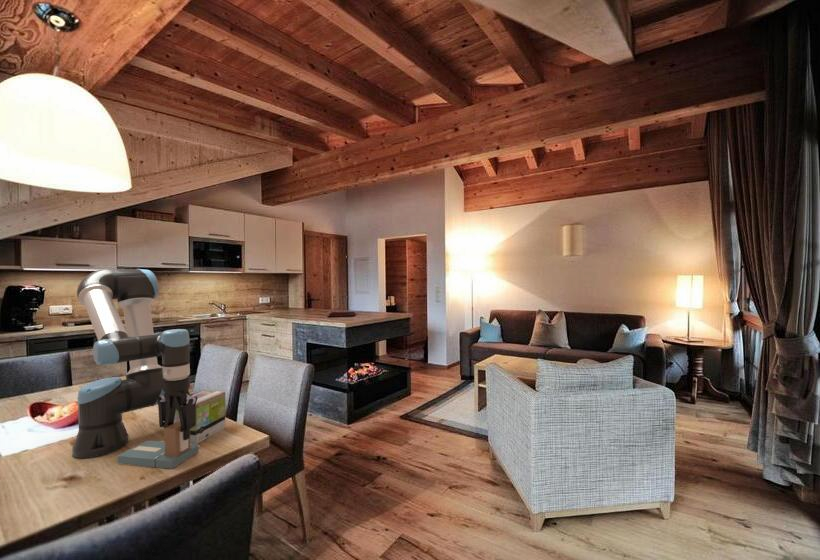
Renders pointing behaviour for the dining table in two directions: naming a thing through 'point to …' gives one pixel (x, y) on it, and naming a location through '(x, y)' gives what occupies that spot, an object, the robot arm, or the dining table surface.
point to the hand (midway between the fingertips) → (177, 448)
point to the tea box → (207, 415)
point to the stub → (175, 448)
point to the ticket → (143, 454)
